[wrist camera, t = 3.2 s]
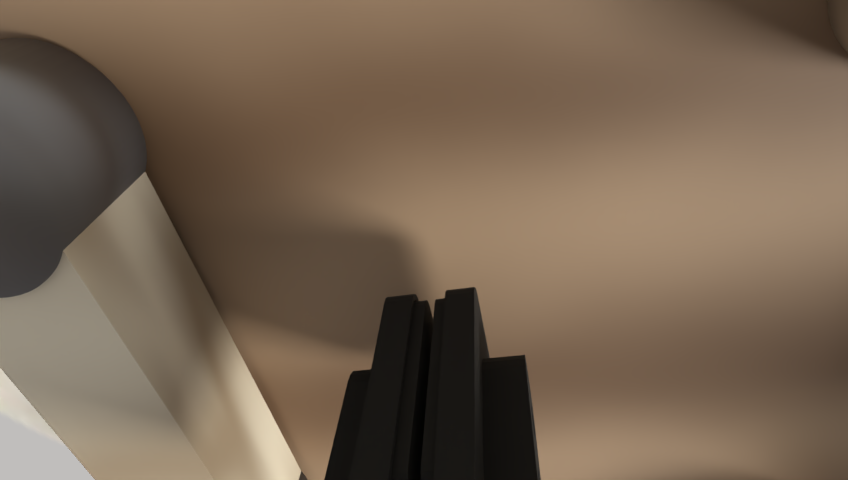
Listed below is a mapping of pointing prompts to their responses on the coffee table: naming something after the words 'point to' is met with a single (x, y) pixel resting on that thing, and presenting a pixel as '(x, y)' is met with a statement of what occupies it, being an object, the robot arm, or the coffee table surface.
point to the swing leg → (112, 292)
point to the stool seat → (515, 205)
